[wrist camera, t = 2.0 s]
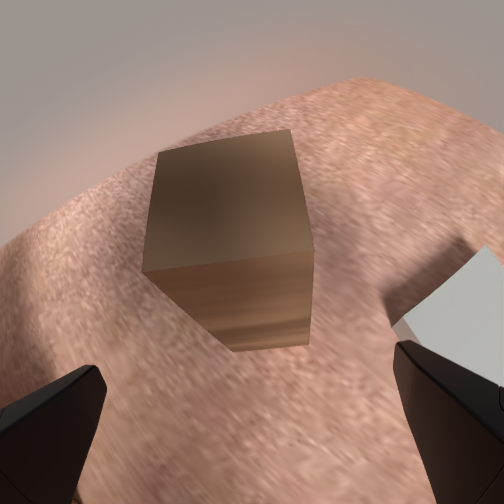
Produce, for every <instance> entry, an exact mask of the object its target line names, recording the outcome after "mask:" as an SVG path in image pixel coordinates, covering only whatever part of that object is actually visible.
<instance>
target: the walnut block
mask: <svg viewBox="0 0 504 504" xmlns="http://www.w3.org/2000/svg"><path fill="white" fill-rule="evenodd" d="M313 272H314V245H313V239H312V234H311V228H310V223H309V218H308V212H307V207H306V202H305V197H304V192H303V187H302V182H301V177H300V172H299V168H298V163H297V158H296V154H295V149H294V145H293V140H292V136H291V131H290V129H287V130H279V131H272V132H265V133H258V134H251V135H245V136H239V137H233V138H227V139H221V140H216V141H210V142H205V143H200V144H195V145H190V146H185V147H181V148H176V149H172V150H167V151H163V152H159V154H158V159H157V164H156V170H155V176H154V181H153V188H152V194H151V200H150V207H149V214H148V221H147V229H146V236H145V245H144V254H143V263H142V273H143V274H144V275H145V276H146V277H147V278H149V279H150V280H151V281H152V282H153V283H154V284H155V285H156V286H157V287H158V288H159V289H160V290H162V291H163V292H164V293H165V294H166V295H167V296H168V297H169V298H170V299H171V300H173V301H174V302H175V303H176V304H177V305H178V306H179V307H180V308H182V309H183V310H184V311H185V312H186V313H187V314H188V315H190V316H191V317H192V318H193V319H194V320H195V321H196V322H198V323H199V324H200V325H201V326H202V327H203V328H205V329H206V330H207V331H208V332H209V333H211V334H212V335H213V336H214V337H215V338H217V339H218V340H219V341H220V342H221V343H223V344H224V345H225V346H226V347H227V348H229V349H230V350H231V351H232V352H240V351H252V350H263V349H273V348H282V347H291V346H300V345H308V344H309V337H310V323H311V308H312V291H313Z"/></svg>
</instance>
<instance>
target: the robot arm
mask: <svg viewBox="0 0 504 504" xmlns="http://www.w3.org/2000/svg"><path fill="white" fill-rule="evenodd" d="M393 371H394V376H395V379H396V383H397V386H398V390H399V394H400V397H401V401H402V405H403V409H404V413H405V416H406V419H407V422H408V424H409V427H410V429H411V432H412V434H413V437H414V440H415V442H416V445H417V448H418V450H419V453H420V456H421V459H422V461H423V464H424V467H425V470H426V473H427V476H428V479H429V481H430V484H431V487H432V490H433V493H434V497H435V500H436V503H437V504H504V387H502V386H499V385H498V384H496V383H494V382H492V381H490V380H488V379H486V378H484V377H482V376H480V375H478V374H476V373H474V372H472V371H471V370H469V369H467V368H465V367H463V366H461V365H459V364H457V363H455V362H453V361H451V360H449V359H447V358H445V357H443V356H441V355H439V354H437V353H435V352H433V351H431V350H429V349H427V348H426V347H424V346H422V345H420V344H418V343H416V342H414V341H412V340H404V341H399V342H397V343H396V345H395V352H394V361H393ZM106 393H107V386H106V383H105V381H104V379H103V377H102V375H101V373H100V370H99V368H98V367H97V366H95V365H84V366H82V367H80V368H78V369H76V370H74V371H72V372H71V373H69V374H67V375H65V376H63V377H61V378H59V379H57V380H56V381H54V382H52V383H50V384H48V385H46V386H44V387H42V388H40V389H39V390H37V391H35V392H33V393H31V394H29V395H27V396H25V397H23V398H21V399H20V400H18V401H16V402H14V403H12V404H10V405H8V406H6V407H5V408H2V409H0V504H71V503H72V500H73V497H74V493H75V490H76V487H77V484H78V481H79V478H80V475H81V472H82V469H83V466H84V463H85V460H86V458H87V455H88V452H89V449H90V446H91V444H92V441H93V438H94V435H95V433H96V430H97V426H98V423H99V419H100V415H101V411H102V408H103V404H104V400H105V397H106Z"/></svg>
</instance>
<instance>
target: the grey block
mask: <svg viewBox="0 0 504 504" xmlns="http://www.w3.org/2000/svg"><path fill="white" fill-rule="evenodd" d="M392 329H393V330H394V332H395V333H396V335H397V336H398V338H399V339H400V341H404V340H412V341H414V342H416V343H418V344H420V345H422V346H424V347H426V348H427V349H429V350H431V351H433V352H435V353H437V354H439V355H441V356H443V357H445V358H447V359H449V360H451V361H453V362H455V363H457V364H459V365H461V366H463V367H465V368H467V369H469V370H471V371H472V372H474V373H476V374H478V375H480V376H482V377H484V378H486V379H488V380H490V381H492V382H494V383H496V384H498V385H499V386H502V387H504V267H503V266H502V264H501V263H500V262H499V260H498V259H497V258H496V256H495V255H494V254H493V253H492V251H491V250H490V249H489V247H488V246H487V245H485V246H484V247H483V248H482V249H481V250H480V251H479V252H478V253H477V254H476V255H475V256H473V257H472V258H471V259H470V260H469V261H468V262H467V263H466V264H465V265H464V266H463V267H462V268H460V269H459V270H458V271H457V272H456V273H455V274H454V275H453V276H451V277H450V278H449V279H448V280H447V281H446V282H445V283H443V284H442V285H441V286H440V287H439V288H438V289H436V290H435V291H434V292H433V293H432V294H430V295H429V296H428V297H427V298H426V299H424V300H423V301H422V302H421V303H419V304H418V305H417V306H416V307H414V308H413V309H412V310H411V311H409V312H408V313H407V314H405V315H404V316H403V317H402V318H401V319H400V320H399V321H398V322H397V323H396V324H395V325H394V326H393V327H392Z"/></svg>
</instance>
